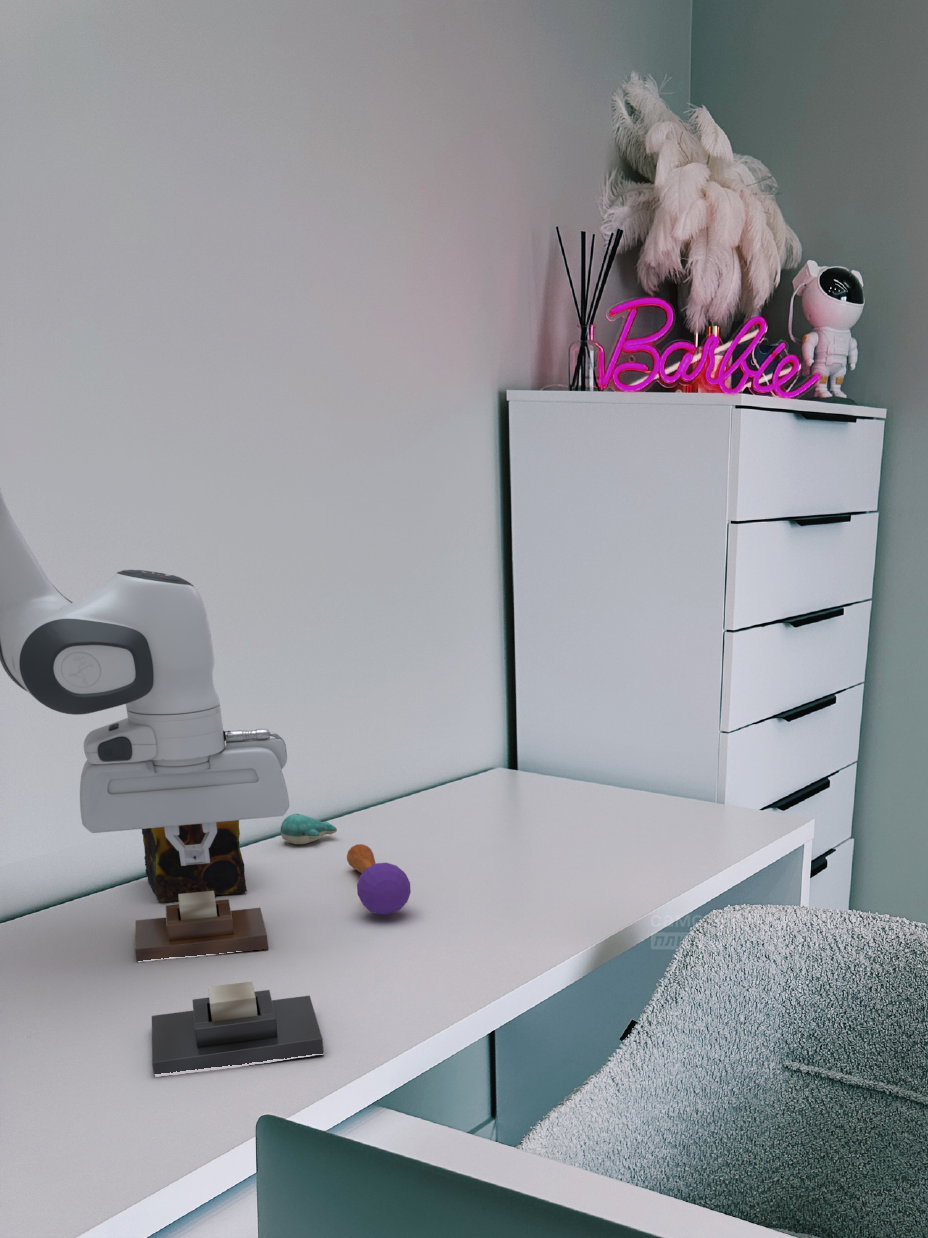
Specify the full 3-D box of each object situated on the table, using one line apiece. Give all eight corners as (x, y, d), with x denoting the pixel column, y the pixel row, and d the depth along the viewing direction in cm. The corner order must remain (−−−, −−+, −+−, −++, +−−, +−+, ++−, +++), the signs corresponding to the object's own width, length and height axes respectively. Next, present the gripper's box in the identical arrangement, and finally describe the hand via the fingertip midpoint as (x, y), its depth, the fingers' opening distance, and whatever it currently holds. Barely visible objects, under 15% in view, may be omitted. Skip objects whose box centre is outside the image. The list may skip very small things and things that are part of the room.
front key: (212, 1024, 110) (209, 1003, 109) (210, 1007, 113) (207, 986, 112) (257, 1018, 111) (255, 997, 111) (254, 1001, 115) (252, 981, 114)
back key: (181, 923, 133) (179, 904, 132) (180, 911, 136) (178, 894, 135) (217, 919, 134) (215, 901, 133) (215, 908, 137) (213, 890, 136)
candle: (248, 894, 151) (241, 814, 147) (158, 904, 146) (149, 822, 142) (230, 869, 159) (224, 793, 155) (145, 879, 154) (136, 800, 150)
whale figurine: (274, 838, 171) (272, 811, 170) (325, 830, 176) (324, 804, 174) (291, 849, 167) (289, 821, 166) (343, 841, 172) (341, 814, 170)
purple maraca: (386, 836, 160) (418, 872, 143) (380, 881, 161) (411, 922, 144) (339, 831, 158) (365, 866, 140) (333, 877, 159) (358, 917, 141)
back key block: (137, 964, 130) (132, 933, 128) (137, 934, 137) (133, 904, 136) (268, 949, 134) (265, 919, 133) (261, 921, 142) (258, 892, 141)
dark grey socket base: (154, 1080, 107) (149, 1043, 105) (153, 1032, 115) (148, 997, 114) (324, 1055, 112) (320, 1020, 110) (311, 1011, 120) (308, 977, 119)
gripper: (281, 721, 134) (294, 844, 139) (70, 735, 127) (92, 864, 132) (286, 733, 129) (300, 861, 134) (67, 748, 121) (90, 883, 126)
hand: (195, 863), depth 133 cm, fingers closed
